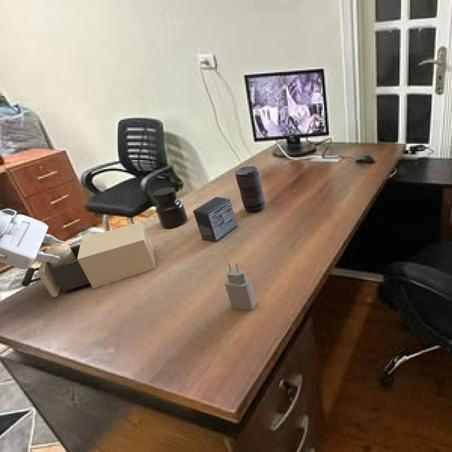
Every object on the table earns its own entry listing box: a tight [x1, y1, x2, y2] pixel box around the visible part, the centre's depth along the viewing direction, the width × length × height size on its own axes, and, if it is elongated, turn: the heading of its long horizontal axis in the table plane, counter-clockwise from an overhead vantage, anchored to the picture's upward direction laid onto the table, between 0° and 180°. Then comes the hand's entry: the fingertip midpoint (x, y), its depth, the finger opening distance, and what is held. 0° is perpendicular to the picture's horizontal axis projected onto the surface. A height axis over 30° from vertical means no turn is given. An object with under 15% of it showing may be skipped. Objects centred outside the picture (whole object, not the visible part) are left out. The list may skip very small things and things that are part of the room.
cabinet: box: [77, 221, 157, 289], centre depth 98 cm, size 16×13×10 cm
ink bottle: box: [152, 186, 188, 229], centre depth 120 cm, size 10×9×12 cm
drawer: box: [21, 243, 90, 298], centre depth 94 cm, size 19×11×8 cm, turn 118°
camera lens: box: [234, 165, 266, 214], centre depth 123 cm, size 8×8×15 cm
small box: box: [192, 196, 238, 243], centre depth 111 cm, size 11×6×10 cm, turn 154°
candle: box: [44, 242, 76, 267], centre depth 93 cm, size 6×6×10 cm
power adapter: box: [223, 262, 257, 312], centre depth 79 cm, size 3×5×12 cm, turn 73°
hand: (61, 252), depth 91 cm, fingers open, 7 cm apart
